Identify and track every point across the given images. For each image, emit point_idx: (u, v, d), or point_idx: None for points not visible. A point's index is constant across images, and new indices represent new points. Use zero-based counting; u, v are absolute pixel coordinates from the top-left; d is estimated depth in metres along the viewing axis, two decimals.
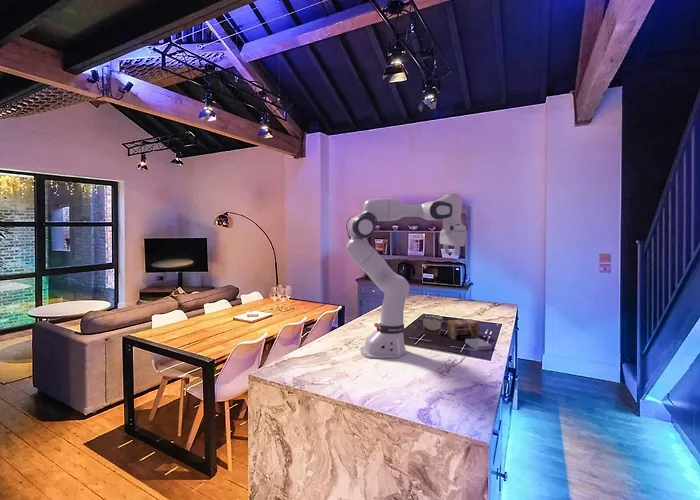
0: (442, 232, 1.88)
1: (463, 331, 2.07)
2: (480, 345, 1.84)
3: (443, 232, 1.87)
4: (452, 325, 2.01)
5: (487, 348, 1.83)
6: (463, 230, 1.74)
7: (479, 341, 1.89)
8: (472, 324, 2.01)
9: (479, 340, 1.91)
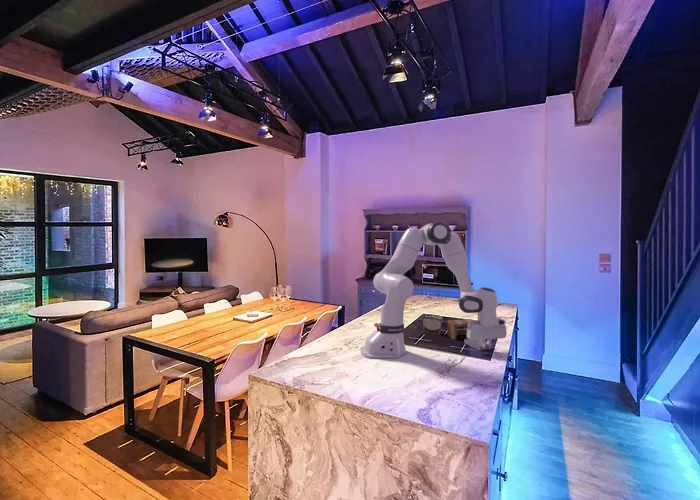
0: (475, 328, 1.78)
1: (463, 331, 2.07)
2: (480, 345, 1.84)
3: (478, 327, 1.78)
4: (452, 325, 2.01)
5: (488, 348, 1.84)
6: None
7: (479, 341, 1.89)
8: None
9: (478, 340, 1.92)
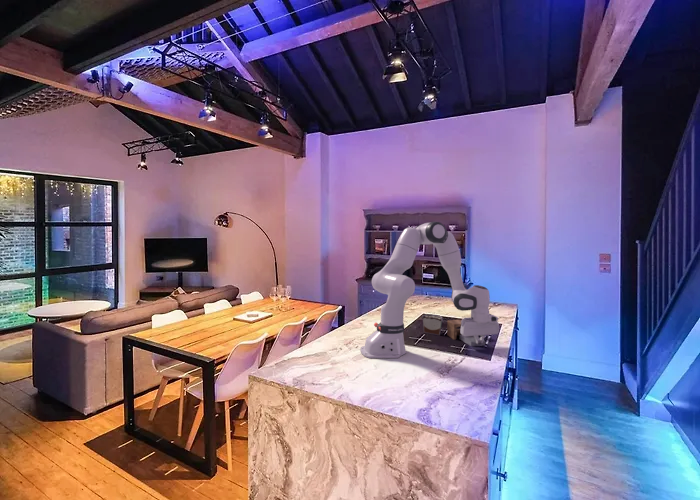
0: (469, 324, 1.84)
1: None
2: (473, 340, 1.90)
3: (471, 324, 1.84)
4: (452, 325, 2.01)
5: (480, 343, 1.89)
6: None
7: (473, 337, 1.95)
8: None
9: (473, 336, 1.97)
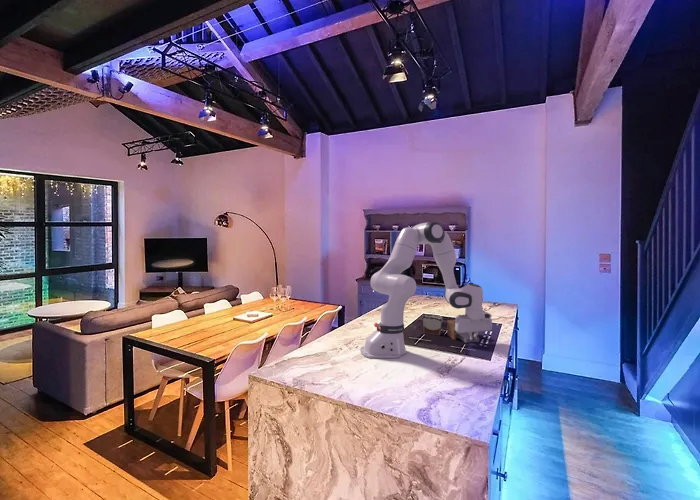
0: (463, 321, 1.90)
1: None
2: (467, 337, 1.96)
3: (466, 321, 1.90)
4: (452, 325, 2.01)
5: (474, 340, 1.95)
6: None
7: (468, 334, 2.01)
8: None
9: (467, 333, 2.03)
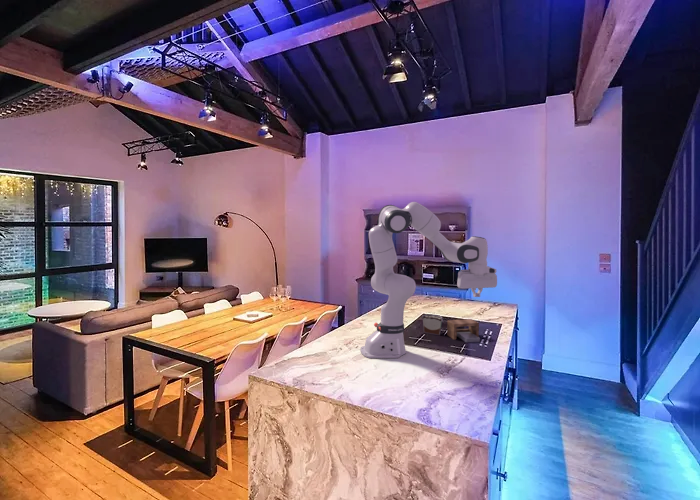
0: (466, 276, 1.77)
1: (463, 331, 2.07)
2: (468, 337, 1.96)
3: (469, 275, 1.77)
4: (452, 325, 2.01)
5: (475, 340, 1.95)
6: None
7: (469, 334, 2.01)
8: (472, 324, 2.01)
9: (469, 333, 2.03)
